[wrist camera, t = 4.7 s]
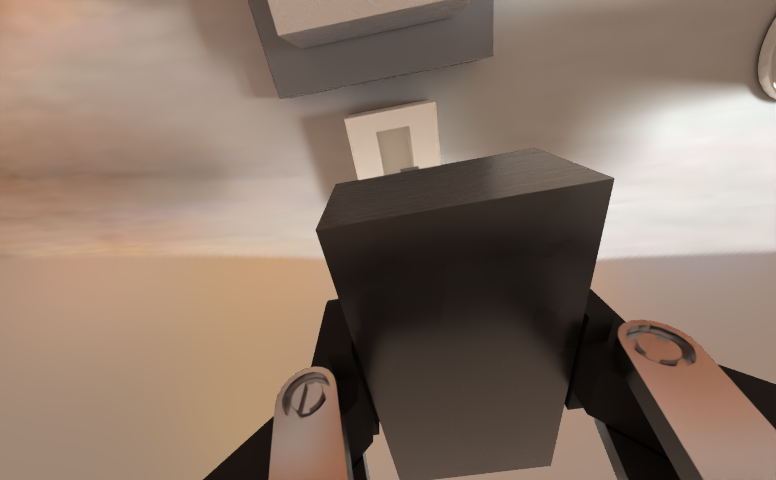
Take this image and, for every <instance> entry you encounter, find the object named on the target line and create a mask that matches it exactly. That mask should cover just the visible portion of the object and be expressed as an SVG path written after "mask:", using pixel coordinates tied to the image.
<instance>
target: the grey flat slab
mask: <svg viewBox="0 0 776 480" xmlns="http://www.w3.org/2000/svg"><path fill="white" fill-rule="evenodd" d="M248 2H249V5H250V8H251V12H252V15H253V18H254V21H255V24H256V27H257V30H258V33H259V36H260V39H261V42H262V46H263V49H264V52H265V55H266V58H267V61H268V64H269V67H270V70H271V73H272V76H273V80H274V83H275V86H276V89H277V92H278V95H279V98H280V99H281V98H291V97H297V96H302V95H307V94H312V93H317V92H322V91H326V90H331V89H336V88H341V87H346V86H351V85H356V84H361V83H366V82H371V81H376V80H381V79H386V78H391V77H396V76H401V75H406V74H411V73H416V72H421V71H426V70H431V69H436V68H441V67H446V66H451V65H456V64H461V63H466V62H470V61H475V60H479V59H483V58H486V57H490V56H493V0H473V1H471V2H470V3H469V4H468V5H467V6H466V7H465V8H464V9H463V10H462V11H461V12H460V13H458V14H457V15H456V16H455V17H451V18H446V19H441V20H437V21H432V22H427V23H422V24H418V25H413V26H408V27H403V28H398V29H394V30H389V31H384V32H379V33H375V34H370V35H365V36H360V37H356V38H351V39H346V40H341V41H337V42H332V43H327V44H322V45H318V46H313V47H308V48H303V49H301V48H300V47H298V46H296V45H294V44H292V43H290V42H289V41H287V40H285V39H283V38H281V37H279V36H278V34H277V30H276V27H275V24H274V20H273V17H272V14H271V10H270V7H269V4H268V0H248Z"/></svg>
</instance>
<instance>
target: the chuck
mask: <svg viewBox="0 0 776 480" xmlns="http://www.w3.org/2000/svg"><path fill="white" fill-rule="evenodd" d="M471 1H473V0H268V4H269V7H270V10H271V14H272V17H273V20H274V24H275V27H276V30H277V34H278V36H279V37H281V38H283V39H285V40H287V41H289V42H290V43H292V44H294V45H296V46H298V47H300V48H301V49H303V48H308V47H313V46H318V45H322V44H327V43H332V42H337V41H341V40H346V39H351V38H356V37H360V36H365V35H370V34H375V33H379V32H384V31H389V30H394V29H398V28H403V27H408V26H413V25H418V24H422V23H427V22H432V21H437V20H441V19H446V18H451V17H455V16H456V15H457V14H458V13H460V12H461V11H462V10H463V9H464V8H465V7H466V6H467V5H468V4H469V3H470V2H471Z"/></svg>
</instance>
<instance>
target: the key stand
mask: <svg viewBox="0 0 776 480" xmlns="http://www.w3.org/2000/svg"><path fill="white" fill-rule="evenodd" d="M344 121H345V126H346V130H347V134H348V139H349V143H350V147H351V152H352V156H353V160H354V165H355V169H356V173H357V178H358V180H362V179H368V178H373V177H379V176H384V175H390V174H395V173H401V172H400V169H404V168H410V167H415V166H418V167H419V169H423V168H428V167H434V166H439V165H441V157H440V145H439V133H438V120H437V108H436V101H431V100H424V101H418V102H413V103H408V104H403V105H398V106H393V107H388V108H383V109H378V110H373V111H367V112H362V113H357V114H352V115H348V116H347V117H346V118H345V119H344Z"/></svg>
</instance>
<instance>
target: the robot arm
mask: <svg viewBox="0 0 776 480" xmlns="http://www.w3.org/2000/svg"><path fill="white" fill-rule="evenodd" d="M758 75H759V82H760V84H761V86H762V88H763V90H764V91H765V92H766V93H767V94H768V95H769V96H770V97H772V98H774V99H776V18H775V19H774V21H773V23H772V25H771V26H770V28H769V30H768V33H767V35H766V37H765V40H764V42H763V45H762V48H761V52H760V56H759V63H758ZM564 404H565V406H566V407H567V409H568V410H569V409H578V408H584V409H585V411H586V413H587V414H588V415H590V416H592V417H594V421H595V424H596V426H597V429H598V431H599V434H600V437H601V439H602V442H603V444H604V447H605V449H606V452H607V454H608V457H609V459H610V462H611V464H612V467H613V470H614V472H615V475H616V477H617V480H776V384H773V383H770V382H768V381H765V380H762V379H759V378H756V377H753V376H750V375H747V374H744V373H741V372H738V371H736V370H732V369H730V368H727V367H724V366H721V365H718V364H717V363H716V362H715V361H714V360H713V359H712V358H711V357H710V356H709V354H708V353H707V352H706V351H705V350H704V349H703V348H702V347H701V346H700V345H699V344H698V343H697V342H696V341H695V340H693V338H691V337H690V336H688V335H686V334H685V333H683V332H681V331H680V330H678V329H675V328H673V327H671V326H668V325H666V324H662V323H658V322H655V321H647V320H631V321H629V322H625V321H624V320H623V319H622V318H621V317H620V316H619V315H618V314H617V313H615V311H613V310H612V309H611V308H610V307H609V306H608V305H607V304H606V303H605V302H604V301H603V300H602V299H600V297H599V296H597V295H596V294H595V293H594V292H593V291H592V290H591V289H590V291H589V295H588V300H587V304H586V309H585V313H584V318H583V322H582V327H581V331H580V336H579V340H578V345H577V349H576V354H575V358H574V363H573V367H572V372H571V376H570V381H569V385H568V390H567V394H566V399H565V403H564ZM379 421H380V420H379V417H378V414H377V411H376V408H375V405H374V402H373V399H372V396H371V393H370V390H369V387H368V384H367V381H366V378H365V375H364V372H363V369H362V366H361V363H360V360H359V357H358V354H357V351H356V348H355V345H354V342H353V339H352V336H351V333H350V330H349V327H348V324H347V322H346V319H345V316H344V313H343V310H342V307H341V304H340V301H339V298H338V299H335V300H329V301H328V302H327V304H326V307H325V311H324V315H323V320H322V324H321V328H320V332H319V336H318V341H317V344H316V349H315V353H314V357H313V361H312V365H311V367H310V368H306V369H303V370H301V371H300V372H297V373H296V374H295V375H293V376H292V377H291V378H289V379H288V381H287V382H286V383H285V384H284V385H283V386H282V388H281V390H280V392H279V394H278V395H277V399H276V403H275V411H274V417H272V418H271V419H270V420H269V421H268V422H266V423H265V424H264V426H262V427H261V428H260V429H259V430H258V431H257V432H255V433H254V434H253V435H252V436H251V437H250V438H249V439H248V440H247V441H245V442H244V443H243V444H242V445H241V446H240V447H239V448H238V449H237V450H235V451H234V452H233V453H232V454H231V455H230V456H229V457H228V458H227V459H225V461H223V462H222V463H221V464H220V465H219V466H218V467H217V468H216V469H214V470H213V471H212V472H211V473H210V474H209V475H208V476H207V477H206V478H204V479H203V480H370V477H369V471H368V466H367V461H366V455H365V451H366V450H367V448H368V447H369V446H370V445H371V443H372V442H373V435H377V434H379Z"/></svg>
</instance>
